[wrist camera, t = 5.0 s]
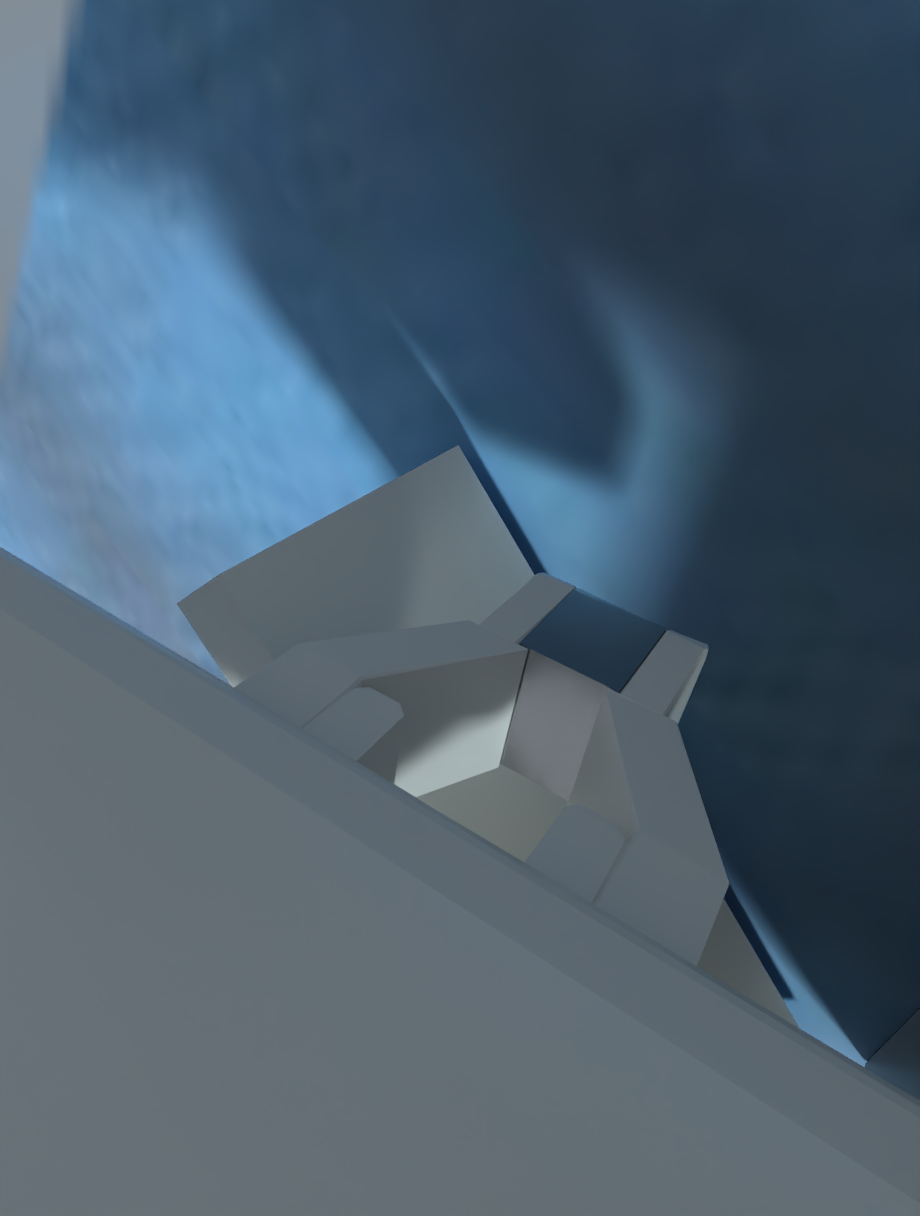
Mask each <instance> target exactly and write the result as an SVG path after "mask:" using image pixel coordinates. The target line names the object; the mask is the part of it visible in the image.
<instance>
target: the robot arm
mask: <svg viewBox="0 0 920 1216" xmlns="http://www.w3.org/2000/svg"><path fill="white" fill-rule="evenodd" d="M707 653H708V645H707V644H705V643H702V642H700V641H697V640H695V639H692V638H690V637H687V636H685V635H682V634H680V633H677V632H675V631H672V630H668V629H667V628H664V627H662V626H660V625H657V624H655V623H652V622H650V621H648V620H645V619H643V618H641V617H639V616H637V615H635V614H633V613H631V612H628V611H626V610H624V609H622V608H620V607H618V606H616V605H614V604H611V603H609V602H607V601H605V600H603V599H601V598H599V597H597V596H594V595H592V594H590V593H588V592H586V591H584V590H582V589H580V588H578V589H577V588H576V587H575V586H574V585H571V584H569V583H567V582H564V581H562V580H560V579H558V578H555V577H553V576H551V575H548V574H546V573H538V574H535V575H534V576H533V577H532V578H531V579H530V580H529V581H527V582H526V583H525V584H524V585H523V586H522V587H521V588H520V589H518V590H517V591H516V592H515V593H514V594H513V595H512V596H510V597H509V598H508V599H507V600H506V601H505V602H504V603H502V604H501V605H500V606H499V607H498V608H497V609H496V610H494V611H493V612H492V613H491V614H490V615H489V616H488V617H487V618H485V619H484V620H483V621H482V622H481V623H480V624H479V625H478V624H476V623H474V622H472V621H470V620H466V621H458V622H451V623H444V624H437V625H429V626H422V627H415V628H408V629H400V630H393V631H386V632H379V633H371V634H364V635H357V636H350V637H342V638H335V639H328V640H321V641H313V642H306V643H299V644H297V645H295V646H294V647H292V648H291V649H289V650H288V651H286V652H285V653H284V654H282V655H281V656H279V657H278V658H276V659H275V660H273V661H272V662H270V663H269V664H268V665H266V666H265V667H263V668H262V669H260V670H259V671H257V672H256V673H254V674H253V675H251V676H250V677H249V678H247V679H246V680H244V681H243V682H241V683H240V684H238V685H237V686H235V687H234V688H233V687H232V686H230V685H228V684H227V683H225V682H223V681H222V680H220V679H219V678H217V677H215V676H214V675H212V674H210V673H209V672H207V671H205V670H204V669H202V668H200V667H199V666H197V665H195V664H194V663H192V662H190V661H189V660H187V659H185V658H184V657H182V656H180V655H179V654H177V653H175V652H174V651H172V650H170V649H169V648H167V647H165V646H164V645H162V644H160V643H159V642H157V641H155V640H154V639H152V638H151V637H149V636H147V635H146V634H144V633H142V632H141V631H139V630H137V629H136V628H134V627H132V626H131V625H129V624H127V623H126V622H124V621H122V620H121V619H119V618H117V617H116V616H114V615H112V614H111V613H109V612H107V611H106V610H104V609H102V608H101V607H99V606H97V605H96V604H94V603H92V602H91V601H89V600H87V599H86V598H84V597H83V596H81V595H79V594H78V593H76V592H74V591H73V590H71V589H69V588H68V587H66V586H64V585H63V584H61V583H59V582H58V581H56V580H54V579H53V578H51V577H49V576H48V575H46V574H44V573H43V572H41V571H39V570H38V569H36V568H34V567H33V566H31V565H29V564H28V563H26V562H24V561H23V560H21V559H19V558H18V557H16V556H15V555H13V554H11V553H10V552H8V551H6V550H5V549H3V548H1V547H0V1216H920V1100H918V1099H916V1098H915V1097H913V1096H911V1095H910V1094H908V1093H906V1092H905V1091H903V1090H901V1089H900V1088H898V1087H896V1086H895V1085H893V1084H891V1083H890V1082H888V1081H886V1080H885V1079H883V1078H881V1077H880V1076H878V1075H876V1074H875V1073H873V1072H871V1071H870V1070H868V1069H866V1068H865V1067H863V1066H861V1065H859V1064H858V1063H856V1062H854V1061H853V1060H851V1059H849V1058H848V1057H846V1056H844V1055H843V1054H841V1053H839V1052H838V1051H836V1050H834V1049H833V1048H831V1047H829V1046H828V1045H826V1044H824V1043H823V1042H821V1041H819V1040H818V1039H816V1038H814V1037H813V1036H811V1035H809V1034H808V1033H806V1032H804V1031H803V1030H801V1029H799V1028H798V1027H796V1026H794V1025H793V1024H791V1023H790V1022H788V1021H786V1020H785V1019H783V1018H781V1017H780V1016H778V1015H776V1014H775V1013H773V1012H771V1011H770V1010H768V1009H766V1008H765V1007H763V1006H761V1005H760V1004H758V1003H756V1002H755V1001H753V1000H751V999H750V998H748V997H746V996H745V995H743V994H742V993H740V992H738V991H737V990H735V989H733V988H732V987H730V986H728V985H727V984H725V983H723V982H722V981H720V980H718V979H717V978H715V977H713V976H712V975H710V974H708V973H707V972H705V971H703V970H702V969H700V968H698V967H697V964H698V962H699V959H700V957H701V954H702V952H703V949H704V947H705V944H706V941H707V939H708V936H709V934H710V931H711V929H712V926H713V924H714V921H715V919H716V916H717V914H718V911H719V909H720V906H721V904H722V901H723V899H724V896H725V894H726V891H727V889H728V886H729V881H728V878H727V875H726V872H725V869H724V866H723V863H722V860H721V857H720V853H719V850H718V847H717V844H716V841H715V838H714V835H713V832H712V829H711V826H710V823H709V820H708V816H707V813H706V810H705V807H704V804H703V801H702V798H701V795H700V792H699V789H698V786H697V783H696V779H695V776H694V773H693V770H692V767H691V764H690V761H689V758H688V755H687V752H686V749H685V746H684V742H683V739H682V736H681V733H680V730H679V727H678V723H679V721H680V718H681V716H682V714H683V711H684V709H685V707H686V704H687V702H688V700H689V697H690V695H691V693H692V690H693V688H694V686H695V683H696V681H697V678H698V676H699V674H700V671H701V669H702V667H703V664H704V662H705V660H706V656H707ZM499 764H501V765H503V766H505V767H507V768H509V769H511V770H513V771H515V772H517V773H518V774H520V775H522V776H524V777H526V778H528V779H530V780H532V781H534V782H535V783H537V784H539V785H541V786H542V787H544V788H546V789H547V790H549V791H551V792H552V793H554V794H556V795H557V796H559V797H561V798H563V799H564V800H566V801H568V805H567V806H565V807H564V808H563V810H562V811H561V812H560V814H559V815H558V817H557V818H556V819H555V821H554V822H553V823H552V825H551V826H550V828H549V829H548V830H547V832H546V833H545V835H544V836H543V837H542V839H541V840H540V841H539V843H538V844H537V846H536V847H535V848H534V850H533V851H532V852H531V854H530V855H529V857H528V858H527V859H526V861H525V862H523V861H521V860H520V859H518V858H516V857H515V856H513V855H511V854H510V853H508V852H506V851H505V850H503V849H501V848H500V847H498V846H496V845H495V844H493V843H491V842H490V841H488V840H486V839H485V838H483V837H481V836H480V835H478V834H476V833H475V832H473V831H471V830H470V829H468V828H466V827H465V826H463V825H461V824H460V823H458V822H456V821H455V820H453V819H451V818H450V817H448V816H446V815H445V814H443V813H441V812H440V811H438V810H436V809H435V808H433V807H431V806H430V805H428V804H426V803H425V802H423V801H421V800H420V799H418V798H416V797H418V796H420V795H423V794H426V793H429V792H431V791H434V790H437V789H440V788H443V787H445V786H448V785H451V784H454V783H456V782H459V781H462V780H465V779H467V778H470V777H473V776H476V775H479V774H481V773H484V772H487V771H490V770H492V769H495V768H498V767H499Z"/></svg>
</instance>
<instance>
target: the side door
mask: <svg viewBox="0 0 920 1216" xmlns="http://www.w3.org/2000/svg"><path fill="white" fill-rule="evenodd" d="M533 576H534V573H533V572H532V570H531V568H530V566H529V565H528V563H527V561H526V560H525V558H524V556H523V555H522V553H521V551H520V549H519V548H518V546H517V544H516V543H515V541H514V539H513V537H512V536H511V534H510V532H509V531H508V529H507V527H506V525H505V524H504V522H503V520H502V519H501V517H500V515H499V514H498V512H497V510H496V508H495V507H494V505H493V503H492V502H491V500H490V498H489V496H488V495H487V493H486V491H485V490H484V488H483V486H482V484H481V483H480V481H479V479H478V478H477V476H476V474H475V472H474V471H473V469H472V467H471V466H470V464H469V462H468V461H467V459H466V457H465V455H464V454H463V452H462V450H461V449H460V447H459V445H457V446H455V447H453V448H452V449H450V450H448V451H446V452H444V453H442V454H441V455H439V456H437V457H435V458H433V459H431V460H429V461H428V462H426V463H424V464H422V465H420V466H418V467H417V468H415V469H413V470H411V471H409V472H407V473H405V474H404V475H402V476H400V477H398V478H396V479H394V480H393V481H391V482H389V483H387V484H385V485H383V486H381V487H380V488H378V489H376V490H374V491H372V492H370V493H369V494H367V495H365V496H363V497H361V498H359V499H358V500H356V501H354V502H352V503H350V504H348V505H346V506H345V507H343V508H341V509H339V510H337V511H335V512H334V513H332V514H330V515H328V516H326V517H324V518H322V519H321V520H319V521H317V522H315V523H313V524H311V525H310V526H308V527H306V528H304V529H302V530H300V531H298V532H297V533H295V534H293V535H291V536H289V537H287V538H286V539H284V540H282V541H280V542H278V543H276V544H274V545H273V546H271V547H269V548H267V549H265V550H263V551H262V552H260V553H258V554H256V555H254V556H252V557H250V558H249V559H247V560H245V561H243V562H241V563H239V564H238V565H236V566H234V567H232V568H230V569H228V570H227V571H225V572H223V573H221V574H219V575H217V576H216V577H215V578H213V579H212V580H210V581H209V582H207V583H206V584H204V585H203V586H202V587H200V588H199V589H197V590H196V591H194V592H193V593H191V594H190V595H189V596H187V597H186V598H184V599H183V600H181V601H180V602H178V603H177V605H178V606H179V608H180V609H181V611H182V612H183V614H184V615H185V617H186V618H187V620H188V621H189V623H190V624H191V626H192V627H193V629H194V630H195V632H196V633H197V635H198V636H199V638H200V639H201V641H202V643H203V644H204V646H205V647H206V649H207V650H208V652H209V653H210V655H211V656H212V658H213V659H214V661H215V662H216V664H217V665H218V667H219V668H220V670H221V671H222V673H223V674H224V676H225V677H226V679H227V680H228V682H229V683H230V685H231V686H232V687H233V688H234V687H235V686H237V685H238V684H240V683H241V682H243V681H244V680H246V679H247V678H249V677H250V676H251V675H253V674H254V673H256V672H257V671H259V670H260V669H262V668H263V667H265V666H266V665H268V664H269V663H270V662H272V661H273V660H275V659H276V658H278V657H279V656H281V655H282V654H284V653H285V652H286V651H288V650H289V649H291V648H292V647H294V646H295V645H297V644H299V643H306V642H313V641H321V640H328V639H335V638H342V637H350V636H357V635H364V634H371V633H379V632H386V631H393V630H400V629H408V628H415V627H422V626H429V625H437V624H444V623H451V622H458V621H466V620H470V621H472V622H474V623H476V624H478V625H479V624H480V623H481V622H482V621H483V620H484V619H485V618H487V617H488V616H489V615H490V614H491V613H492V612H493V611H494V610H496V609H497V608H498V607H499V606H500V605H501V604H502V603H504V602H505V601H506V600H507V599H508V598H509V597H510V596H512V595H513V594H514V593H515V592H516V591H517V590H518V589H520V588H521V587H522V586H523V585H524V584H525V583H526V582H527V581H529V580H530V579H531V578H532V577H533ZM416 798H418V799H420V800H421V801H423V802H425V803H426V804H428V805H430V806H431V807H433V808H435V809H436V810H438V811H440V812H441V813H443V814H445V815H446V816H448V817H450V818H451V819H453V820H455V821H456V822H458V823H460V824H461V825H463V826H465V827H466V828H468V829H470V830H471V831H473V832H475V833H476V834H478V835H480V836H481V837H483V838H485V839H486V840H488V841H490V842H491V843H493V844H495V845H496V846H498V847H500V848H501V849H503V850H505V851H506V852H508V853H510V854H511V855H513V856H515V857H516V858H518V859H520V860H521V861H523V862H525V861H526V859H527V858H528V857H529V855H530V854H531V852H532V851H533V850H534V848H535V847H536V846H537V844H538V843H539V841H540V840H541V839H542V837H543V836H544V835H545V833H546V832H547V830H548V829H549V828H550V826H551V825H552V823H553V822H554V821H555V819H556V818H557V817H558V815H559V814H560V812H561V811H562V810H563V808H564V807H565V806H567V805H568V801H566V800H564V799H563V798H561V797H559V796H557V795H556V794H554V793H552V792H551V791H549V790H547V789H546V788H544V787H542V786H541V785H539V784H537V783H535V782H534V781H532V780H530V779H528V778H526V777H524V776H522V775H520V774H518V773H517V772H515V771H513V770H511V769H509V768H507V767H505V766H503V765H501V764H499V767H498V768H495V769H492V770H490V771H487V772H484V773H481V774H479V775H476V776H473V777H470V778H467V779H465V780H462V781H459V782H456V783H454V784H451V785H448V786H445V787H443V788H440V789H437V790H434V791H431V792H429V793H426V794H423V795H420V796H418V797H416ZM697 967H698V968H700V969H702V970H703V971H705V972H707V973H708V974H710V975H712V976H713V977H715V978H717V979H718V980H720V981H722V982H723V983H725V984H727V985H728V986H730V987H732V988H733V989H735V990H737V991H738V992H740V993H742V994H743V995H745V996H746V997H748V998H750V999H751V1000H753V1001H755V1002H756V1003H758V1004H760V1005H761V1006H763V1007H765V1008H766V1009H768V1010H770V1011H771V1012H773V1013H775V1014H776V1015H778V1016H780V1017H781V1018H783V1019H785V1020H786V1021H788V1022H790V1023H791V1024H793V1025H794V1026H796V1027H798V1028H799V1026H798V1025H797V1023H796V1021H795V1019H794V1018H793V1016H792V1014H791V1013H790V1011H789V1009H788V1007H787V1006H786V1004H785V1002H784V1001H783V999H782V997H781V995H780V994H779V992H778V990H777V989H776V987H775V985H774V983H773V982H772V980H771V978H770V977H769V975H768V973H767V972H766V970H765V968H764V966H763V965H762V963H761V961H760V960H759V958H758V956H757V954H756V953H755V951H754V949H753V948H752V946H751V944H750V942H749V941H748V939H747V937H746V936H745V934H744V932H743V931H742V929H741V927H740V925H739V924H738V922H737V920H736V919H735V917H734V915H733V913H732V912H731V910H730V908H729V907H728V905H727V903H726V901H725V900H724V899H723V901H722V904H721V906H720V909H719V911H718V914H717V916H716V919H715V921H714V924H713V926H712V929H711V931H710V934H709V936H708V939H707V941H706V944H705V947H704V949H703V952H702V954H701V957H700V959H699V962H698V964H697ZM799 1029H800V1028H799Z"/></svg>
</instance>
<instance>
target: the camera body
mask: <svg viewBox="0 0 920 1216" xmlns="http://www.w3.org/2000/svg"><path fill="white" fill-rule="evenodd" d="M865 1068H866V1069H868V1070H870V1071H871V1072H873V1073H875V1074H876V1075H878V1076H880V1077H881V1078H883V1079H885V1080H886V1081H888V1082H890V1083H891V1084H893V1085H895V1086H896V1087H898V1088H900V1089H901V1090H903V1091H905V1092H906V1093H908V1094H910V1095H911V1096H913V1097H915V1098H916V1099H918V1100H920V1008H919V1009H918V1010H917V1011H916V1012H915V1013H914V1015H913V1016H912V1017H911V1018H910V1019H909V1020H908V1021H907V1022H906V1023H905V1024H904V1025H903V1026H902V1027H901V1028H900V1029H899V1030H898V1031H897V1032H896V1033H895V1034H894V1035H893V1036H892V1037H891V1038H890V1039H889V1040H888V1041H887V1042H886V1043H885V1044H884V1045H883V1046H882V1047H881V1048H880V1049H879V1050H878V1051H877V1053H876V1054H875V1055H874V1056H873V1057H872V1058H871V1059H870V1060H869V1061H868V1062H867V1063H866V1064H865Z"/></svg>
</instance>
